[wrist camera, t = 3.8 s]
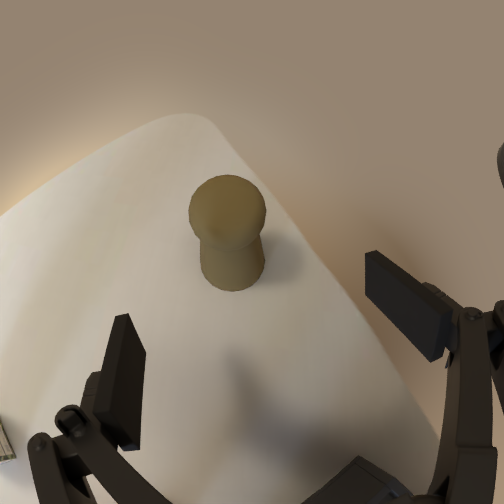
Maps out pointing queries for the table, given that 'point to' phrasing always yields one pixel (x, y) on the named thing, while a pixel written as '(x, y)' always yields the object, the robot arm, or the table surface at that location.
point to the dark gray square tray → (359, 486)
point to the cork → (229, 231)
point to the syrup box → (5, 448)
